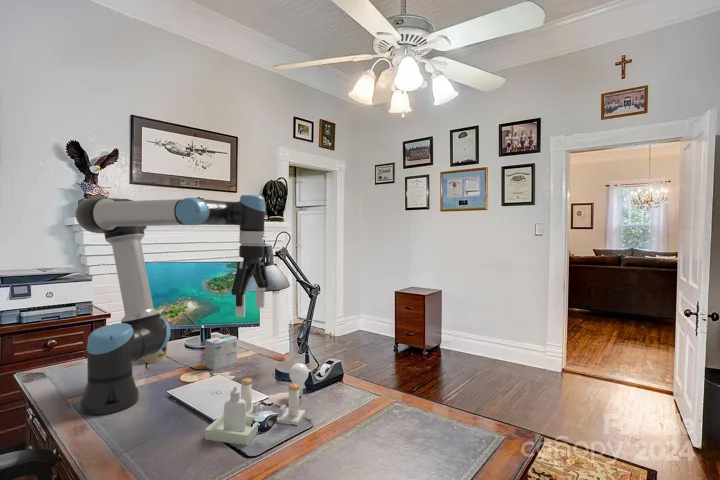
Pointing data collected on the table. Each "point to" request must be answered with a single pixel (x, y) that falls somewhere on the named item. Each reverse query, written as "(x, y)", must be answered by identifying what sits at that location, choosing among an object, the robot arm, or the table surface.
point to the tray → (219, 434)
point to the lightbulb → (299, 375)
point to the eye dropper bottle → (235, 412)
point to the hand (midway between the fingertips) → (250, 311)
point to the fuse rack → (285, 414)
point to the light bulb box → (220, 352)
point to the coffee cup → (156, 356)
